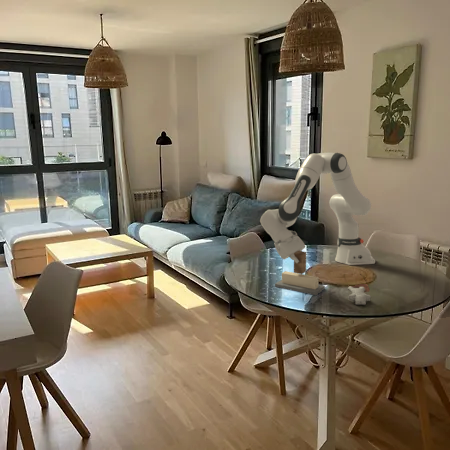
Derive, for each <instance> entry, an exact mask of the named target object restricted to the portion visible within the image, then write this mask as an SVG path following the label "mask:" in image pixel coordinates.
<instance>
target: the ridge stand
mask: <svg viewBox="0 0 450 450" xmlns="http://www.w3.org/2000/svg"><path fill="white" fill-rule="evenodd" d="M274 287H276V288H281V289H285V290H290V291H294V292H297V293H298V292H299V293H303V294H308V295H314V296H317V295H319V294H320V293H321V292H323V291H324V290H325V288H326V286H325V285H322V284H319V276H313V275H307V274H304V273H303V274H299V273H294V271H293V272H292V271H288V270H287V271H286V270H285V271H283V272H281V280H279V281H277V282H275V283H274ZM323 289H324V290H323ZM322 290H323V291H322ZM318 293H319V294H318Z"/></svg>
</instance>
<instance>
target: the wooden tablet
mask: <svg viewBox="0 0 450 450" xmlns="http://www.w3.org/2000/svg"><path fill="white" fill-rule="evenodd" d="M351 287H353V288H359V287H364V288H365V291H364V293H369V292H370V287H369V285H368V283H367V284H359V285H355V286H351Z"/></svg>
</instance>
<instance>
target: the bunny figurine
mask: <svg viewBox="0 0 450 450" xmlns="http://www.w3.org/2000/svg"><path fill="white" fill-rule="evenodd" d="M347 291H350V292H351V294H348V301H352V302H354V304H355V305H362V306H363V305H364V306H365V305H366V304H367V302H371V298H372V297H371V295H370V294H367V293H366V292H364V291H365V288H364V287H359V288H353V287H351V286H349V285H348V287H347Z"/></svg>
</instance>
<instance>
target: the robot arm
mask: <svg viewBox="0 0 450 450" xmlns="http://www.w3.org/2000/svg"><path fill="white" fill-rule="evenodd" d="M321 174H330V177H331V182H332V186H333V189H334V190H335V192H336V193H335V194H333V195H332V196H331V197H330V199H329V207H330V209H331V210H332V211H333V213H334V214H335V217H336V218H337V222H338V223H337V224H338V235H337V244H336V245H337V250H336V255H335V258H334V260H335V261H336V262H338V263H341V264H345V265H349V266H357V265H359V266H360V265H374V264H375V263H376V260H375V258H374V257H373V256H372V252H371V251H370V249H369V248H368V247H366V246H365V245H364V239H363V238H361V237H359V223H358V222H357V220H356V219H354V217H353V215H354V216H367V215H368V214H369V213H370V211H371V209H372V203H371V200H370V199H369V198H368V197H367V196H365V195H364V194H363V193H362V192H361V191H360V190H359V188H358V187H357V185H356V183H355V181H354V177H353V174H352V171H351V168H350V164H349V163H348V160H347V157H346V156H345V155H344V154H343V153H341V152H330V151H329V152H327V151H326V152H320V153H319V152H316V153H310V154H309V155H308V156H307V157H306V158H305V159H304V161H303V162H302V164H301V165H300V167H299V169H298V171H297V173H296V176H295V184H294V186H293V188H292V190H291V191H290V193H289V195H288V196H287V198H285V199H284V200H283V201H281V203H280V204H279V206H278V208H276V209H267V210H266V211H264V212H262V215H260V218H259V222H260V225H261V226H262V228H263V230H264V231H265V232H266V233H267V234H268V235H269V236H270V237H271V239H272V241H273V242H274V247H275V251H276V252H277V253H278V255H279V256H280V258H281V259H282V260H287V259H288V258H290V260H292V261H293V262H294V261H295V262H296V263H298V262H300V260H299V259H298V258H296V257H295V255H294V253H295V252H297V251H304V249H305V248H306V244H305V243H304V241H303V240H302V239H301V238H300V237H299V236H298V233H297V232H296V231H295V230H294V231H293V230H289V229H288V228H289V227H291V226H293V225H294V224H295V223H296V221H297V219H298V216H299V214H300V209H301V202H302V200H303V198H304V196H305V194H306V193H307V191H309V190H311V189H313V188H314V186H315V185H316V184H317V182H318V180H319V179H320V177H321Z"/></svg>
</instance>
